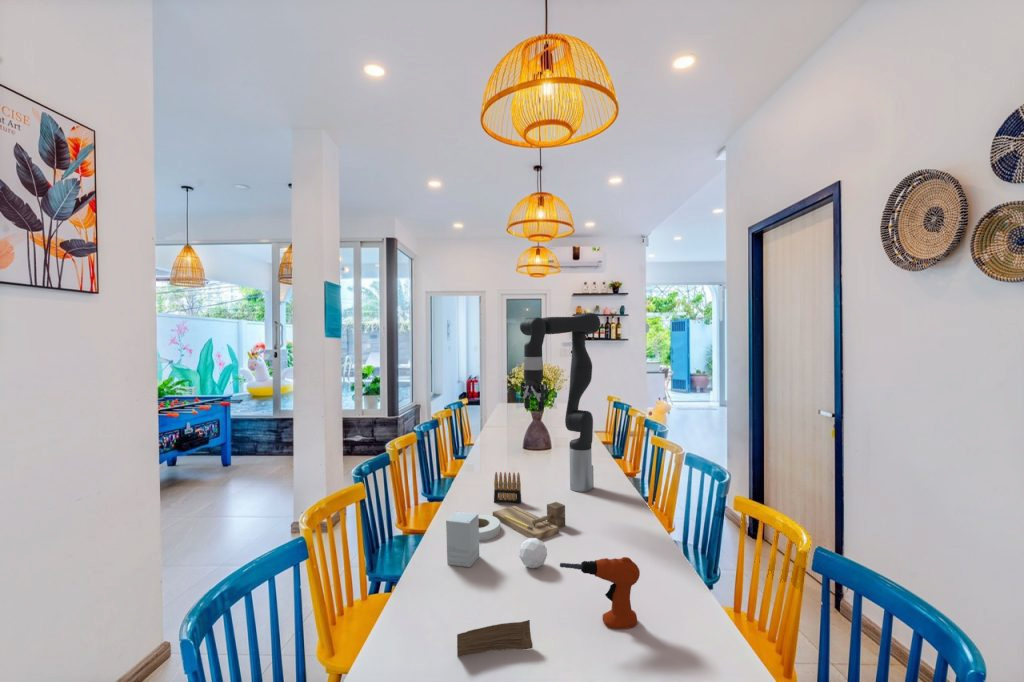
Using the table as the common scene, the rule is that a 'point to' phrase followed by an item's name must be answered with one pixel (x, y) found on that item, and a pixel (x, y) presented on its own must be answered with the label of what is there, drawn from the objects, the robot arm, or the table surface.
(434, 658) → the table surface
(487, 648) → the wood plank
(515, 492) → the ammunition clip
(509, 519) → the pencil
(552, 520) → the block on a post
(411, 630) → the table surface
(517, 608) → the table surface
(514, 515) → the board
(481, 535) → the roll of tape
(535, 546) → the ball
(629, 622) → the toy drill
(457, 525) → the supplement box
